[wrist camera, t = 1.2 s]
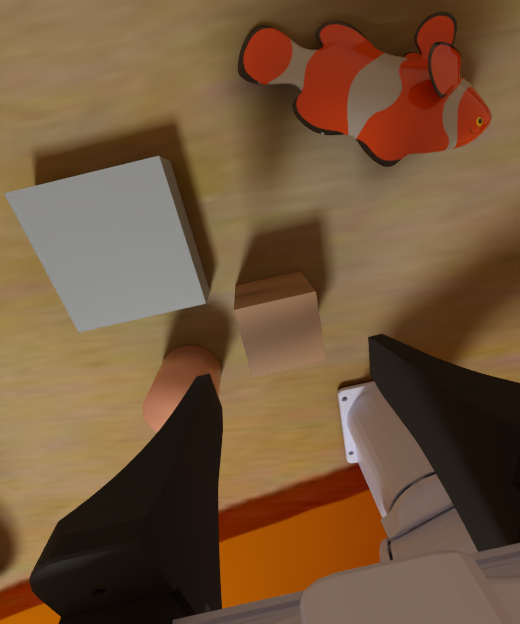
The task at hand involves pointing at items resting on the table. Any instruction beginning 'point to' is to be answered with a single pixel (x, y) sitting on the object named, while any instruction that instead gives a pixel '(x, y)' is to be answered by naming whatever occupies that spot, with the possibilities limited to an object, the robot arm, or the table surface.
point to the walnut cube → (279, 323)
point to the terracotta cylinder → (178, 381)
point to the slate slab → (114, 242)
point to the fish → (374, 87)
